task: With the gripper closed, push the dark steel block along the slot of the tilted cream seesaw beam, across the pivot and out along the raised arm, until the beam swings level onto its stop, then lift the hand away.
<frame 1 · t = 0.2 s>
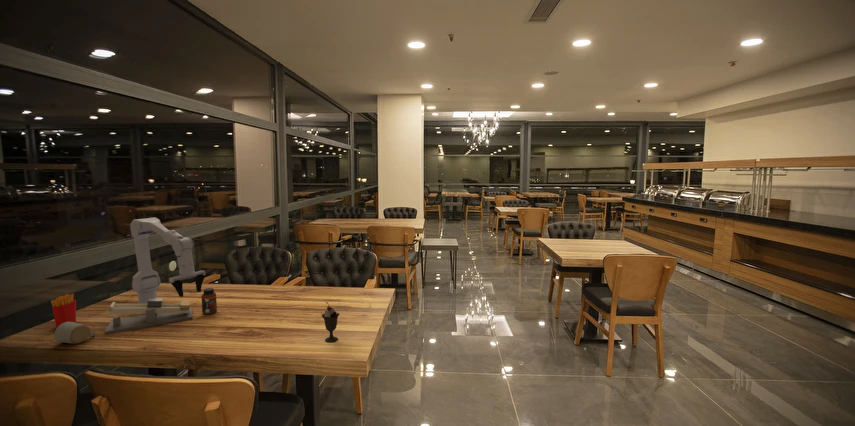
hand: (190, 294, 168), 10 cm above the table, tool pointing down, fingers open, 7 cm apart
stand: (152, 320, 164), on the table
sundae: (331, 340, 145), on the table
supplement bottle: (209, 312, 174), on the table
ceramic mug: (77, 341, 145), on the table
beam: (151, 307, 164), point 6 cm above the table, hinge at -10.5°, touching rider
french fries: (66, 325, 160), on the table
rider: (154, 308, 164), point 5 cm above the table, tilted 10°, touching beam
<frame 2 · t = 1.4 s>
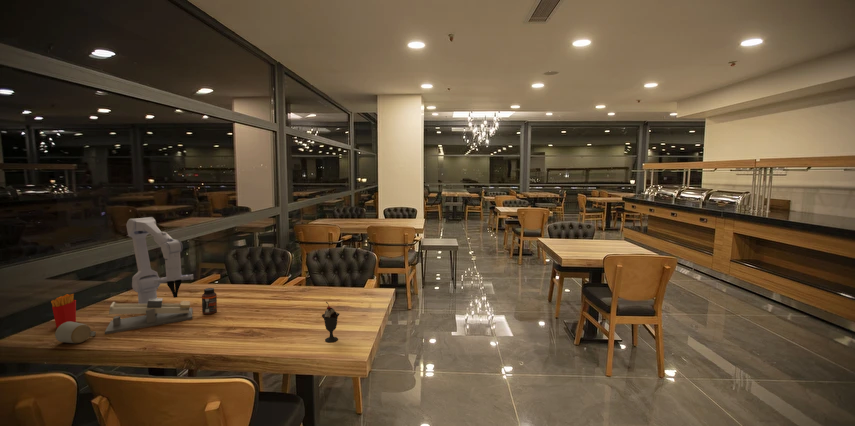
hand: (175, 296, 168), 9 cm above the table, tool pointing down, fingers closed
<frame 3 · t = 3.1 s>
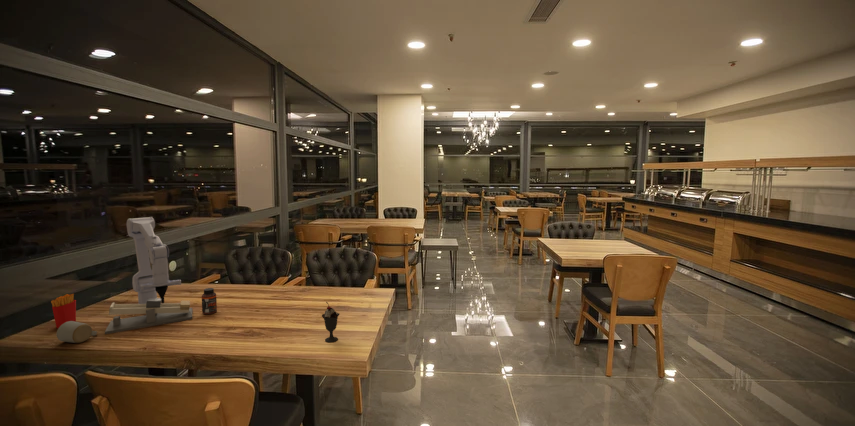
hand: (162, 302, 166), 8 cm above the table, tool pointing down, fingers closed, pressing on rider
beam: (151, 307, 164), point 6 cm above the table, hinge at -9.4°, touching rider
rider: (153, 308, 164), point 6 cm above the table, tilted 9°, touching beam, gripper
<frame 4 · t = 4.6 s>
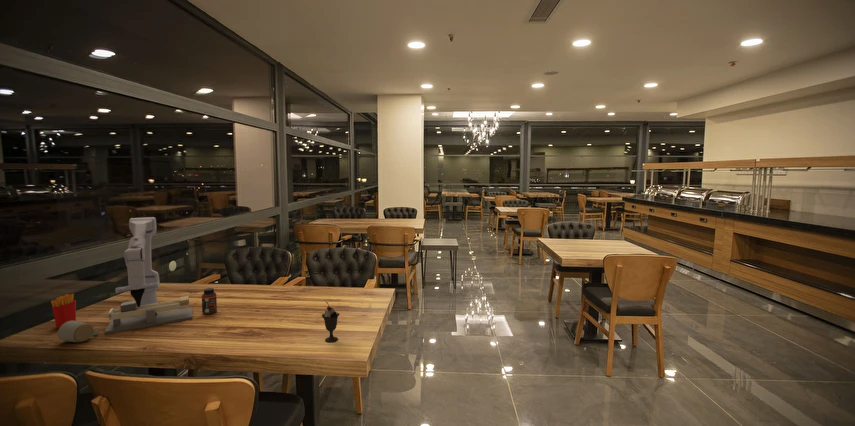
hand: (139, 306, 161), 7 cm above the table, tool pointing down, fingers closed
beam: (151, 307, 164), point 6 cm above the table, hinge at 0.6°, touching rider
rider: (129, 311, 160), point 6 cm above the table, touching beam, gripper
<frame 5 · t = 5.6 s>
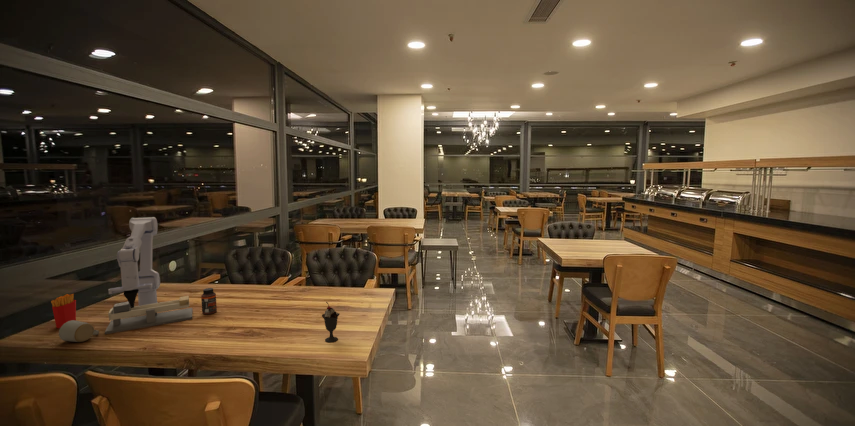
hand: (132, 307, 160), 7 cm above the table, tool pointing down, fingers closed
rider: (122, 313, 158), point 6 cm above the table, touching beam, gripper
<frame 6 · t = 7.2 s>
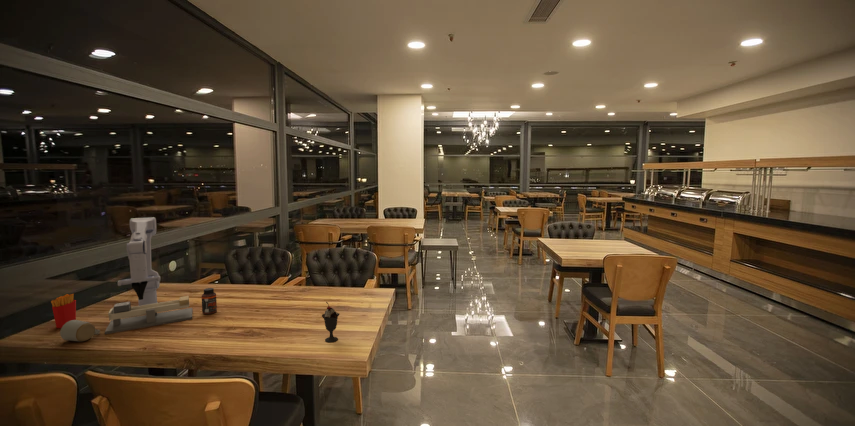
hand: (141, 299, 162), 10 cm above the table, tool pointing down, fingers closed
rider: (122, 313, 158), point 6 cm above the table, touching beam
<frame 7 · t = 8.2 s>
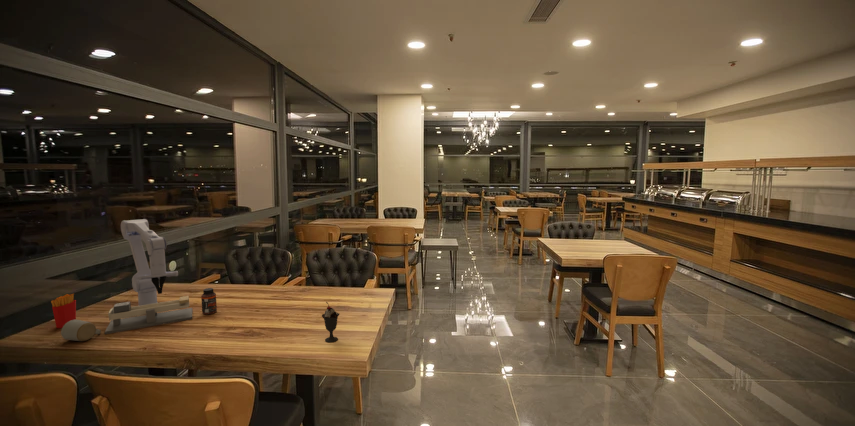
hand: (160, 293, 170), 10 cm above the table, tool pointing down, fingers closed
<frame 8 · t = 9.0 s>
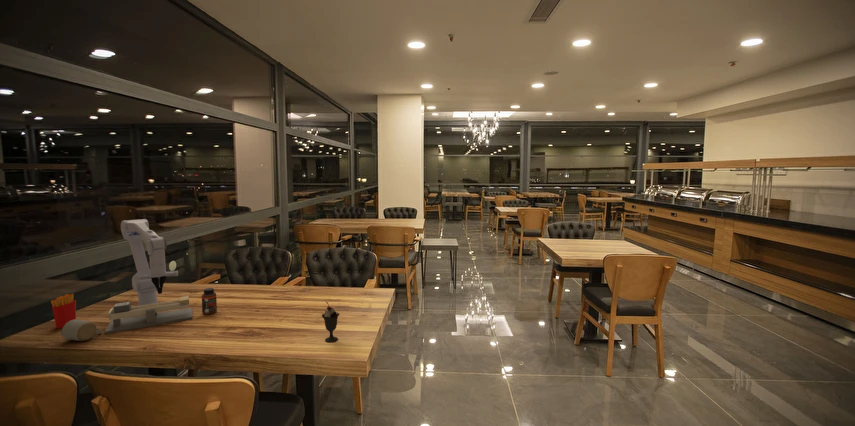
hand: (160, 293, 170), 10 cm above the table, tool pointing down, fingers closed
at the end: beam at +1° (first picture: -10°); rider inside the target area on the beam (0.8 cm from its centre), point 0.5 cm above the beam's base; rider tilted 1° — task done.
